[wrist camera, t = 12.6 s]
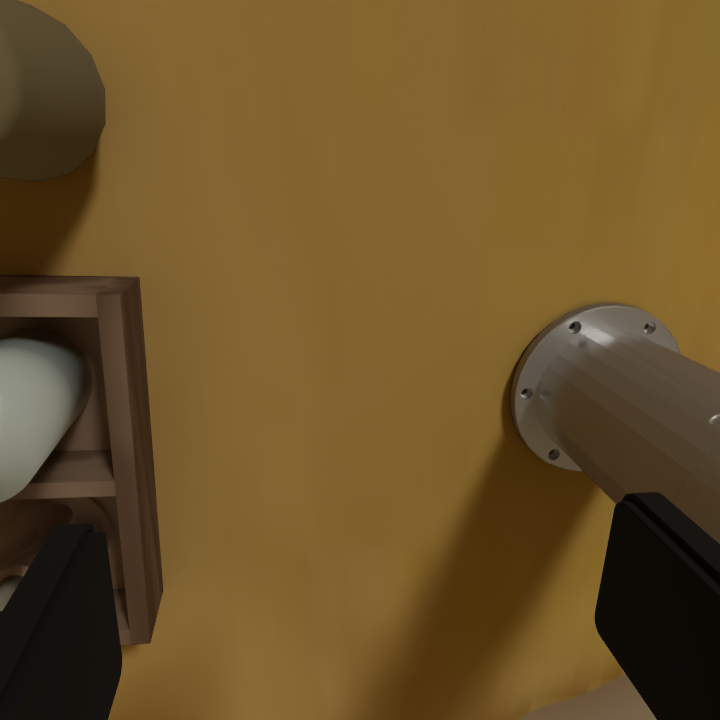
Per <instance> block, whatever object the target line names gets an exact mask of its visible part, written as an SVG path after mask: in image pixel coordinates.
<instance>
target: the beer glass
mask: <svg viewBox="0 0 720 720" xmlns="http://www.w3.org/2000/svg"><path fill="white" fill-rule="evenodd" d="M88 523H91V524H92V525H93V527H94V529H95V532H100V531H103V532H105V535H106V539H107V546H108V547H109V545H110V542H111V537H112V527H111V522H110V519H109V517H108V515H107V514H106V512H105V511H104V509H103V508H102V507H101V506H100V505H99V504H98V503H96V502H95V501H94V500H92V499H90V498H88V497H75V498H49V499H31V500H29V501H28V502H27V503H26V504H25V505H24V506H23V507H22V508H21V509H20V510H19V512H18V513H17V515H16V517H15V519H14V522H13V524H12V527H11V530H10V533H9V536H8V539H7V541H6V543H5V544H4V546H3V547H2V548H1V549H0V611H3V609H4V608H5V606H6V604H7V603H8V601H9V599H10V598H11V596H12V594H13V593H14V591H15V589H16V588H17V586H18V584H19V583H20V581H21V579H22V578H23V576H24V574H25V573H26V571H27V569H28V568H29V566H30V564H31V563H32V561H33V559H34V558H35V556H36V554H37V553H38V551H39V550H40V548H41V546H42V545H43V543H44V541H45V540H46V538H47V536H48V535H49V533H50V531H51V530H52V528H53V527H54V526H56V525H70V524H88Z"/></svg>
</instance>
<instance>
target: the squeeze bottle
mask: <svg viewBox="0 0 720 720" xmlns="http://www.w3.org/2000/svg"><path fill="white" fill-rule="evenodd" d="M104 126H105V88H104V86H103V83H102V81H101V78H100V76H99V73H98V71H97V68H96V66H95V63H94V61H93V58H92V56H91V54H90V53H89V52H88V51H87V49H86V48H85V47H84V46H83V45H82V44H81V42H80V41H79V40H78V39H77V38H76V37H75V35H74V34H73V33H72V32H71V31H70V30H69V28H68V27H67V26H66V25H65V24H63V23H61V22H59V21H58V20H56V19H54V18H52V17H51V16H49V15H47V14H46V13H44V12H42V11H40V10H39V9H37V8H35V7H33V6H32V5H29V4H26V3H23V2H20V1H17V0H0V177H1V178H8V179H17V180H26V181H35V182H42V181H45V180H49V179H52V178H56V177H59V176H62V175H66V174H69V173H71V172H72V171H73V170H74V169H76V168H77V167H78V166H79V165H80V164H81V163H82V162H83V161H85V160H86V159H87V158H88V157H89V156H90V155H91V154H92V153H93V152H94V150H95V147H96V145H97V143H98V140H99V138H100V135H101V133H102V131H103V128H104Z"/></svg>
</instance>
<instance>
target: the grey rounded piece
mask: <svg viewBox="0 0 720 720" xmlns="http://www.w3.org/2000/svg"><path fill="white" fill-rule="evenodd" d="M92 385H93V381H92V373H91V369H90V366H89V364H88V362H87V360H86V358H85V357H84V355H83V354H82V352H81V351H80V350H79V349H78V348H77V347H76V346H75V345H74V344H73V343H72V342H70V341H69V340H67V339H66V338H64V337H63V336H61V335H59V334H57V333H54V332H52V331H48V330H45V329H40V328H19V329H14V330H11V331H7V332H5V333H3V334H1V335H0V502H3V501H5V500H7V499H10V498H11V497H13V496H15V495H16V494H18V493H19V492H20V491H21V490H22V489H24V488H25V487H26V485H27V484H28V483H29V482H30V481H31V479H32V478H33V476H34V475H35V474H36V472H37V471H38V470H39V468H40V467H41V466H42V464H43V463H44V462H45V460H46V459H47V457H48V456H49V455H50V453H51V452H52V451H53V449H54V448H55V447H56V445H57V444H58V443H59V441H60V440H61V438H62V437H63V436H64V434H65V433H66V432H67V430H68V429H69V428H70V426H71V425H72V424H73V422H74V421H75V419H76V418H77V417H78V415H79V414H80V413H81V411H82V410H83V409H84V407H85V406H86V404H87V403H88V400H89V398H90V396H91V392H92Z"/></svg>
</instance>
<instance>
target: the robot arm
mask: <svg viewBox="0 0 720 720" xmlns="http://www.w3.org/2000/svg"><path fill="white" fill-rule="evenodd" d="M571 323H572V325H571V326H570V324H571ZM569 326H570V327H569ZM524 389H525V390H524ZM523 390H524V391H523ZM522 391H523V392H522ZM511 412H512V417H513V421H514V425H515V427H516V429H517V431H518V433H519V435H520V437H521V438H522V439H523V441H524V442H525V443H526V445H527V446H528V447H529V448H530V449H531V450H532V451H533V452H534V453H535V454H536V455H537V456H538V457H539V458H541V459H542V460H544V461H545V462H547V463H548V464H550V465H553V466H556V467H559V468H561V469H565V470H571V471H583V472H584V473H585V474H586V475H587V476H588V477H589V478H590V479H591V480H592V481H593V482H594V483H595V484H596V485H597V486H598V487H599V488H600V489H601V490H602V491H603V492H604V493H605V494H606V495H607V496H608V497H609V498H610V499H611V500H612V501H613V502H614V503H615V504H616V506H615V509H614V514H613V519H612V524H611V530H610V535H609V541H608V546H607V551H606V557H605V562H604V567H603V573H602V578H601V583H600V589H599V594H598V599H597V605H596V610H595V624H596V628H597V631H598V633H599V635H600V637H601V638H602V640H603V641H604V643H605V644H606V646H607V647H608V648H609V650H610V651H611V653H612V654H613V656H614V657H615V659H616V660H617V662H618V663H619V665H620V666H621V667H622V669H623V670H624V672H625V673H626V675H627V676H628V678H629V679H630V680H631V682H632V684H633V685H634V686H635V688H636V689H637V691H638V692H639V694H640V695H641V697H642V698H643V700H644V701H645V702H646V704H647V705H648V707H649V708H650V710H651V711H652V713H653V714H654V716H655V717H656V719H657V720H720V373H719V372H716V371H714V370H712V369H710V368H708V367H706V366H704V365H702V364H700V363H698V362H696V361H693V360H691V359H689V358H687V357H685V356H683V355H681V354H680V350H679V347H678V344H677V342H676V340H675V339H674V337H673V335H672V334H671V332H670V330H669V329H668V328H667V327H666V326H665V325H664V324H663V323H662V322H661V321H660V320H659V319H657V318H655V317H654V316H652V315H651V314H649V313H647V312H645V311H643V310H640V309H638V308H635V307H633V306H629V305H624V304H620V303H599V304H593V305H588V306H584V307H581V308H579V309H576V310H573V311H571V312H568V313H567V314H565V315H563V316H562V317H560V318H558V319H557V320H555V321H553V322H552V323H551V324H550V325H549V326H548V327H546V328H545V329H544V330H543V331H542V332H540V333H539V335H538V336H537V337H536V338H535V339H534V341H533V342H532V343H531V344H530V345H529V346H528V348H527V350H526V351H525V353H524V355H523V357H522V358H521V360H520V362H519V364H518V367H517V369H516V372H515V375H514V377H513V383H512V388H511ZM121 669H122V652H121V644H120V636H119V629H118V621H117V614H116V606H115V599H114V591H113V584H112V576H111V569H110V561H109V553H108V546H107V539H106V535H105V532H103V531H100V532H95V529H94V527H93V525H92V524H91V523H88V524H70V525H56V526H54V527H53V528H52V530H51V531H50V533H49V535H48V536H47V538H46V540H45V541H44V543H43V545H42V546H41V548H40V550H39V551H38V553H37V554H36V556H35V558H34V559H33V561H32V563H31V564H30V566H29V568H28V569H27V571H26V573H25V574H24V576H23V578H22V579H21V581H20V583H19V584H18V586H17V588H16V589H15V591H14V593H13V594H12V596H11V598H10V599H9V601H8V603H7V604H6V606H5V608H4V609H3V611H0V720H108V717H109V714H110V710H111V707H112V704H113V700H114V697H115V693H116V690H117V687H118V683H119V680H120V676H121Z"/></svg>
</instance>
